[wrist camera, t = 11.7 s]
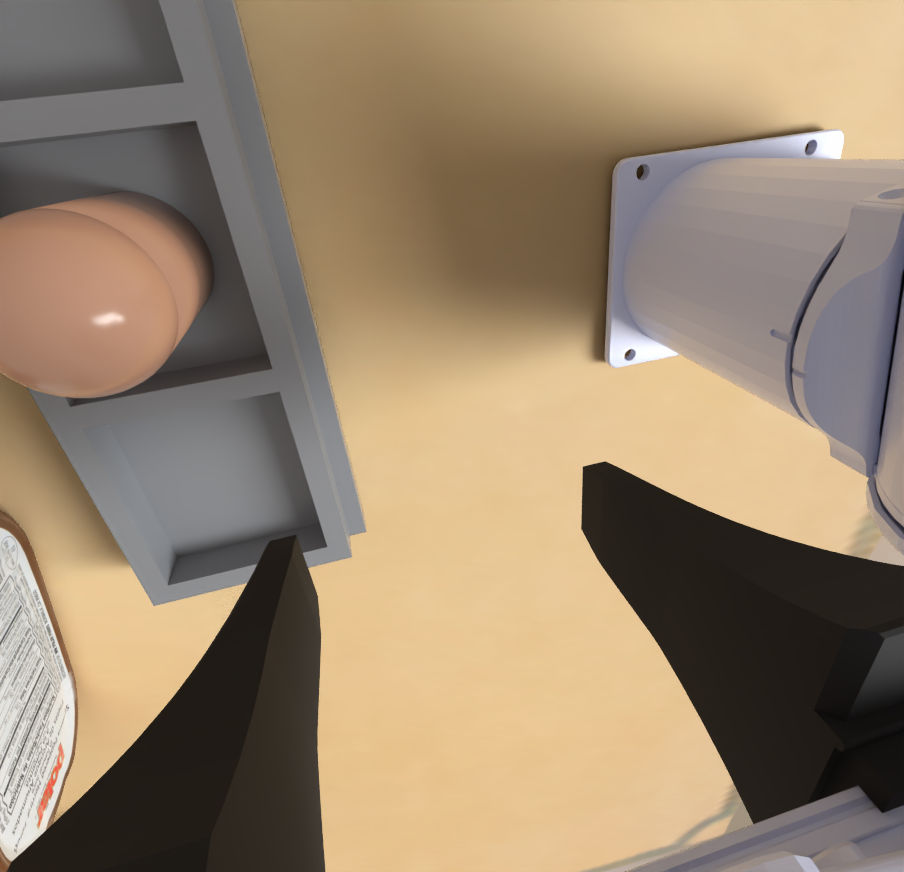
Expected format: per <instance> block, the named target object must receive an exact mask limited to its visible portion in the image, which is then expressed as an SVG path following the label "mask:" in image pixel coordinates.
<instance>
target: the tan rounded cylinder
mask: <svg viewBox="0 0 904 872" xmlns="http://www.w3.org/2000/svg"><path fill="white" fill-rule="evenodd" d="M213 283H214V266H213V261H212V257H211V253H210V251H209V248H208V246H207V244H206V242H205V240H204V238H203V237H202V235H201V234H200V232H199V231H198V229H197V228H196V227H195V226H194V225H193V224H192V222H191V221H190V220H189V219H188V218H186V217H185V216H184V215H183V214H182V213H181V212H179V211H178V210H177V209H175V208H174V207H172V206H171V205H169V204H167V203H166V202H164V201H162V200H159V199H157V198H155V197H152V196H149V195H146V194H142V193H137V192H129V191H116V192H109V193H104V194H99V195H94V196H90V197H85V198H80V199H76V200H71V201H66V202H61V203H57V204H52V205H47V206H42V207H38V208H33V209H28V210H23V211H19V212H15V213H12V214H10V215H7V216H4V217H1V218H0V373H2V374H3V375H5V376H7V377H8V378H10V379H12V380H13V381H15V382H17V383H19V384H21V385H23V386H26V387H28V388H31V389H33V390H36V391H39V392H42V393H46V394H50V395H55V396H60V397H69V398H97V397H104V396H109V395H113V394H117V393H121V392H123V391H126V390H129V389H131V388H133V387H135V386H137V385H138V384H140V383H142V382H144V381H145V380H147V379H148V378H150V377H151V376H152V375H153V374H154V373H155V372H156V371H157V370H158V369H159V368H160V367H161V366H162V365H163V364H164V363H165V362H166V360H167V359H168V357H169V356H170V355H171V353H172V352H173V350H174V349H175V347H176V346H177V345H178V343H179V342H180V340H181V339H182V337H183V336H184V335H185V333H186V332H187V330H188V329H189V327H190V326H191V325H192V323H193V322H194V320H195V319H196V317H197V316H198V314H199V313H200V312H201V310H202V309H203V307H204V306H205V304H206V303H207V301H208V299H209V297H210V295H211V292H212V289H213Z"/></svg>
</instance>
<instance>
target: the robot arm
mask: <svg viewBox="0 0 904 872" xmlns="http://www.w3.org/2000/svg"><path fill="white" fill-rule="evenodd" d="M807 143H809V146H808V149H807V151H806V152H805V147H806V145H807ZM843 143H844V135H843V132H842V131H841V130H838V129H829V130H822V131H815V132H808V133H801V134H794V135H786V136H779V137H772V138H765V139H758V140H751V141H744V142H737V143H730V144H723V145H716V146H708V147H701V148H694V149H687V150H680V151H673V152H666V153H659V154H652V155H645V156H637V157H630V158H625V159H622V160H621V161H620V162H618V163H617V165H616V166H615V168H614V171H613V177H612V200H611V222H610V245H609V267H608V290H607V312H606V335H605V361H606V362H607V364H609V365H610V366H612V367H614V368H619V367H623V366H628V365H633V364H638V363H643V362H648V361H652V360H657V359H662V358H667V357H672V356H676V355H682V356H684V357H685V358H687V359H689V360H691V361H693V362H695V363H696V364H698V365H700V366H702V367H704V368H706V369H707V370H709V371H711V372H713V373H715V374H717V375H718V376H720V377H722V378H724V379H726V380H728V381H729V382H731V383H733V384H735V385H737V386H739V387H740V388H742V389H744V390H746V391H748V392H750V393H751V394H753V395H755V396H757V397H759V398H761V399H762V400H764V401H766V402H768V403H770V404H772V405H773V406H775V407H777V408H779V409H781V410H783V411H784V412H786V413H788V414H790V415H792V416H794V417H795V418H797V419H799V420H801V421H803V422H804V423H806V424H808V425H810V426H812V427H814V428H817V429H818V430H819V431H821V432H822V433H823V434H824V435H825V436H826V437H827V439H828V441H829V444H830V454H831V456H832V457H833V458H835V459H837V460H839V461H840V462H842V463H844V464H845V465H847V466H849V467H851V468H852V469H854V470H856V471H857V472H859V473H861V474H863V475H864V476H866V477H869V479H868V482H867V488H866V499H867V506H868V509H869V512H870V514H871V517H872V519H873V522H874V523H875V525H876V526H877V527H878V529H879V530H880V532H881V533H882V535H883V536H884V537H885V538H886V539H887V540H888V541H889V542H890V543H891V544H892V545H893V546H894V547H895V548H896V549H897V550H898V551H899V552H900V553H902V554H903V555H904V160H891V159H840V156H841V152H842V147H843ZM640 165H642V166H643V169H644V172H643V175H642V176H641V178H640V179H638V178H637V175H636V172H637V169H638V167H639V166H640ZM629 349H631V352H630V354H629V355H628V356H627V357H624V356H625V353H626V352H627V350H629ZM581 529H582V531H583V533H584V535H585V537H586V538H587V540H588V542H589V544H590V546H591V548H592V550H593V552H594V553H595V555H596V557H597V559H598V561H599V562H600V564H601V565H602V567H603V568H604V569H605V571H606V572H607V574H608V575H609V576H610V578H611V579H612V581H613V582H614V583H615V585H616V586H617V588H618V589H619V590H620V592H621V593H622V594H623V596H624V597H625V599H626V600H627V601H628V603H629V604H630V605H631V607H632V608H633V610H634V611H635V612H636V614H637V615H638V616H639V618H640V619H641V621H642V622H643V623H644V625H645V626H646V627H647V629H648V630H649V632H650V633H651V634H652V636H653V637H654V639H655V640H656V642H657V643H658V645H659V646H660V648H661V650H662V651H663V653H664V655H665V656H666V658H667V660H668V662H669V663H670V665H671V667H672V668H673V670H674V672H675V674H676V675H677V677H678V679H679V680H680V682H681V684H682V686H683V688H684V689H685V691H686V693H687V695H688V697H689V698H690V700H691V702H692V704H693V706H694V707H695V709H696V711H697V713H698V715H699V716H700V718H701V720H702V722H703V724H704V726H705V728H706V730H707V732H708V733H709V735H710V737H711V739H712V741H713V743H714V745H715V747H716V749H717V751H718V753H719V755H720V757H721V758H722V760H723V762H724V764H725V766H726V768H727V770H728V772H729V774H730V776H731V778H732V780H733V783H734V785H735V787H736V789H737V791H738V793H739V795H740V797H741V799H742V801H743V803H744V805H745V807H746V809H747V811H748V813H749V816H750V818H751V820H752V822H753V825H750V826H747V827H745V828H742V829H739V830H737V831H734V832H731V833H728V834H726V835H723V836H720V837H718V838H715V839H712V840H710V841H707V842H704V843H701V844H699V845H696V846H693V847H691V848H688V849H685V850H682V851H680V852H677V853H674V854H671V855H669V856H666V857H664V858H661V859H658V860H655V861H653V862H650V863H647V864H644V865H642V866H639V867H636V868H634V869H631V870H628V871H625V872H904V566H899V565H892V564H887V563H882V562H877V561H872V560H867V559H863V558H858V557H853V556H849V555H844V554H840V553H836V552H832V551H828V550H824V549H820V548H816V547H812V546H809V545H805V544H802V543H798V542H795V541H791V540H787V539H784V538H781V537H778V536H775V535H771V534H768V533H765V532H762V531H760V530H757V529H754V528H751V527H748V526H745V525H743V524H740V523H737V522H734V521H732V520H729V519H727V518H724V517H722V516H719V515H717V514H715V513H712V512H710V511H708V510H705V509H703V508H701V507H698V506H696V505H694V504H692V503H689V502H687V501H685V500H683V499H681V498H679V497H677V496H674V495H672V494H670V493H668V492H666V491H664V490H662V489H660V488H658V487H656V486H654V485H652V484H650V483H648V482H646V481H644V480H642V479H640V478H638V477H636V476H634V475H632V474H630V473H628V472H626V471H624V470H622V469H620V468H618V467H616V466H614V465H612V464H610V463H607V462H601V463H597V464H592V465H588V466H584V467H583V487H582V527H581ZM320 652H321V629H320V616H319V605H318V596H317V593H316V590H315V587H314V584H313V581H312V578H311V575H310V572H309V570H308V567H307V564H306V561H305V558H304V555H303V552H302V549H301V546H300V543H299V540H298V538H297V535H292V536H288V537H284V538H280V539H275V540H271V541H269V543H268V544H267V546H266V548H265V550H264V552H263V554H262V556H261V558H260V560H259V562H258V564H257V566H256V568H255V570H254V572H253V574H252V575H251V577H250V579H249V581H248V583H247V585H246V587H245V589H244V590H243V592H242V594H241V596H240V597H239V599H238V601H237V603H236V605H235V606H234V608H233V610H232V612H231V613H230V615H229V617H228V618H227V620H226V622H225V623H224V625H223V626H222V628H221V629H220V631H219V633H218V634H217V636H216V637H215V639H214V641H213V642H212V644H211V645H210V647H209V648H208V650H207V651H206V653H205V654H204V656H203V657H202V659H201V660H200V662H199V663H198V664H197V666H196V667H195V669H194V670H193V671H192V673H191V674H190V675H189V677H188V678H187V679H186V681H185V682H184V683H183V685H182V686H181V687H180V689H179V690H178V691H177V693H176V694H175V695H174V697H173V698H172V699H171V700H170V701H169V703H168V704H167V705H166V706H165V708H164V709H163V710H162V711H161V712H160V713H159V715H158V716H157V717H156V718H155V719H154V720H153V722H152V723H151V724H150V725H149V726H148V727H147V729H146V730H145V731H144V732H143V733H142V734H141V736H140V737H139V738H138V739H137V740H136V741H135V742H134V743H133V745H132V746H131V747H130V748H129V749H128V750H127V751H126V752H125V753H124V754H123V755H122V756H121V757H120V758H119V760H118V761H117V762H116V763H115V764H114V765H113V766H112V767H111V768H110V769H109V770H108V771H107V772H106V773H105V774H104V775H103V776H102V777H101V778H100V779H99V780H98V781H97V782H96V783H95V784H94V785H93V786H92V787H91V788H90V789H89V790H88V791H87V792H86V793H85V794H84V795H83V796H82V797H81V798H80V799H79V800H78V801H77V802H76V803H75V804H74V805H73V806H72V807H71V808H70V809H68V810H67V811H66V812H65V813H64V814H63V815H62V816H61V817H60V818H59V819H58V820H57V821H56V822H54V823H53V824H52V825H51V826H50V827H49V828H48V829H47V830H46V831H45V832H44V833H43V834H41V835H40V836H39V837H38V838H37V839H36V840H35V841H34V842H33V843H32V844H31V845H30V846H28V847H27V848H26V849H25V850H24V851H23V852H22V853H21V854H20V855H18V856H17V857H16V858H15V859H14V860H13V861H12V862H11V863H10V865H9V868H8V870H7V872H325V861H324V849H323V834H322V820H321V805H320V789H319V771H318V753H317V727H318V703H319V679H320Z"/></svg>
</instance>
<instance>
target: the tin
mask: <svg viewBox="0 0 904 872" xmlns="http://www.w3.org/2000/svg"><path fill="white" fill-rule="evenodd" d="M77 728H78V700H77V688H76V682H75V677H74V673H73V670H72V667H71V664H70V660H69V657H68V654H67V651H66V648H65V645H64V642H63V639H62V636H61V632H60V629H59V626H58V623H57V620H56V617H55V614H54V611H53V608H52V605H51V602H50V599H49V596H48V593H47V590H46V587H45V584H44V581H43V578H42V575H41V572H40V570H39V567H38V564H37V561H36V558H35V555H34V552H33V550H32V547H31V545H30V543H29V540H28V538H27V536H26V535H25V533H24V531H23V530H22V529H21V527H20V526H19V525H18V524H17V522H16V521H15V520H14V519H12V518H11V517H10V516H9V515H8V514H6V513H4V512H2V511H0V872H7V870H8V868H9V865H10V863H11V862H12V861H13V860H14V859H15V858H16V857H17V856H18V855H20V854H21V853H22V852H23V851H24V850H25V849H26V848H27V847H28V846H30V845H31V844H32V843H33V842H34V841H35V840H36V839H37V838H38V837H39V836H40V835H41V834H43V833H44V832H45V831H46V830H47V829H48V828H49V827H50V826H51V825H52V823H53V820H54V817H55V814H56V811H57V808H58V805H59V802H60V799H61V795H62V792H63V788H64V785H65V781H66V779H67V776H68V774H69V771H70V769H71V766H72V763H73V759H74V756H75V748H76V740H77Z"/></svg>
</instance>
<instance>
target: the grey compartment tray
mask: <svg viewBox="0 0 904 872" xmlns="http://www.w3.org/2000/svg"><path fill="white" fill-rule="evenodd" d="M116 191H129V192H137V193H142V194H146V195H149V196H152V197H155V198H157V199H159V200H162V201H164V202H166V203H167V204H169V205H171V206H172V207H174V208H175V209H177V210H178V211H179V212H181V213H182V214H183V215H184V216H185V217H186V218H188V219H189V220H190V221H191V222H192V224H193V225H194V226H195V227H196V228H197V229H198V231H199V232H200V234H201V235H202V237H203V238H204V240H205V242H206V244H207V246H208V248H209V251H210V253H211V257H212V261H213V266H214V283H213V289H212V292H211V295H210V297H209V299H208V301H207V303H206V304H205V306H204V307H203V309H202V310H201V312H200V313H199V314H198V316H197V317H196V319H195V320H194V322H193V323H192V325H191V326H190V327H189V329H188V330H187V332H186V333H185V335H184V336H183V337H182V339H181V340H180V342H179V343H178V345H177V346H176V347H175V349H174V350H173V352H172V353H171V355H170V356H169V357H168V359H167V360H166V362H165V363H164V364H163V365H162V366H161V367H160V368H159V369H158V370H157V371H156V372H155V373H154V374H153V375H152V376H151V377H150V378H148V379H147V380H145V381H144V382H142V383H140V384H138V385H137V386H135V387H133V388H131V389H129V390H126V391H123V392H121V393H117V394H113V395H109V396H104V397H97V398H69V397H60V396H55V395H50V394H46V393H42V392H39V391H36V390H33V389H31V388H28V387H27V389H28V390H29V392H30V394H31V395H32V397H33V399H34V401H35V402H36V404H37V406H38V408H39V409H40V411H41V413H42V414H43V416H44V418H45V420H46V421H47V423H48V425H49V426H50V428H51V430H52V432H53V433H54V435H55V437H56V438H57V440H58V442H59V444H60V445H61V447H62V449H63V451H64V452H65V454H66V456H67V457H68V459H69V461H70V463H71V464H72V466H73V468H74V469H75V471H76V473H77V475H78V476H79V478H80V480H81V481H82V483H83V485H84V487H85V488H86V490H87V492H88V494H89V495H90V497H91V499H92V500H93V502H94V504H95V506H96V507H97V509H98V511H99V512H100V514H101V516H102V518H103V519H104V521H105V523H106V524H107V526H108V528H109V530H110V531H111V533H112V535H113V537H114V538H115V540H116V542H117V543H118V545H119V547H120V549H121V550H122V552H123V554H124V555H125V557H126V559H127V561H128V562H129V564H130V566H131V567H132V569H133V571H134V573H135V574H136V576H137V578H138V580H139V581H140V583H141V585H142V586H143V588H144V590H145V592H146V593H147V595H148V597H149V598H150V600H151V602H152V604H153V605H154V606H156V605H160V604H164V603H168V602H172V601H176V600H180V599H184V598H188V597H192V596H196V595H200V594H204V593H208V592H212V591H216V590H220V589H224V588H228V587H232V586H237V585H241V584H245V583H248V581H249V579H250V577H251V575H252V574H253V572H254V570H255V568H256V566H257V564H258V562H259V560H260V558H261V556H262V554H263V552H264V550H265V548H266V546H267V544H268V543H269V541H271V540H275V539H280V538H284V537H288V536H292V535H297V538H298V540H299V543H300V546H301V549H302V552H303V555H304V558H305V561H306V564H307V567H308V568H309V567H313V566H317V565H322V564H326V563H330V562H334V561H338V560H342V559H346V558H350V557H352V553H351V544H350V536H351V535H355V534H359V533H363V532H366V526H365V519H364V514H363V510H362V506H361V502H360V498H359V494H358V490H357V486H356V482H355V478H354V474H353V470H352V466H351V462H350V458H349V454H348V450H347V446H346V442H345V438H344V434H343V430H342V426H341V422H340V418H339V414H338V410H337V406H336V402H335V398H334V394H333V390H332V386H331V382H330V378H329V374H328V370H327V366H326V362H325V358H324V354H323V350H322V346H321V342H320V338H319V334H318V330H317V326H316V322H315V318H314V314H313V310H312V306H311V302H310V298H309V294H308V290H307V286H306V282H305V278H304V274H303V270H302V266H301V262H300V258H299V254H298V250H297V246H296V242H295V238H294V234H293V230H292V226H291V222H290V218H289V214H288V210H287V206H286V202H285V198H284V194H283V190H282V186H281V182H280V178H279V174H278V170H277V166H276V162H275V158H274V154H273V150H272V146H271V142H270V138H269V134H268V130H267V126H266V122H265V118H264V114H263V110H262V106H261V102H260V98H259V94H258V90H257V86H256V82H255V78H254V74H253V70H252V66H251V62H250V58H249V54H248V50H247V46H246V42H245V38H244V34H243V30H242V26H241V22H240V18H239V14H238V10H237V6H236V2H235V0H0V218H1V217H4V216H7V215H10V214H12V213H15V212H19V211H23V210H28V209H33V208H38V207H42V206H47V205H52V204H57V203H61V202H66V201H71V200H76V199H80V198H85V197H90V196H94V195H99V194H104V193H109V192H116Z"/></svg>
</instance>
